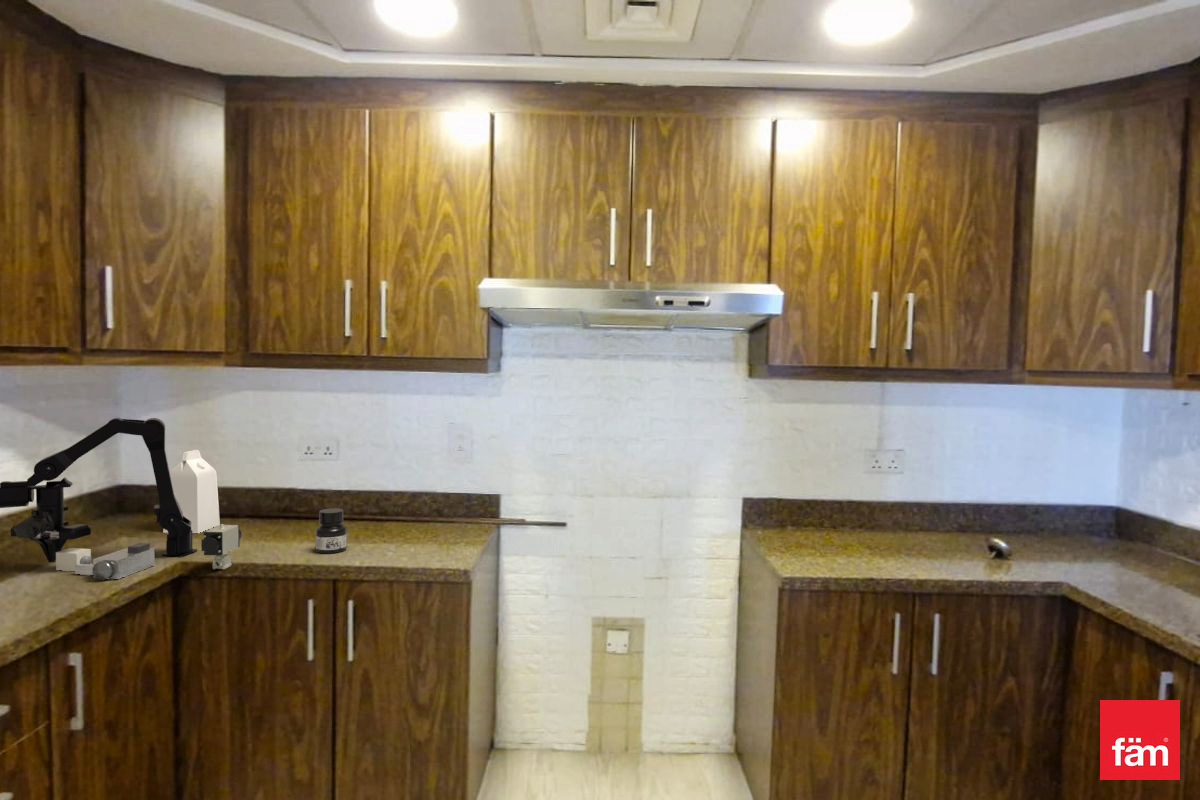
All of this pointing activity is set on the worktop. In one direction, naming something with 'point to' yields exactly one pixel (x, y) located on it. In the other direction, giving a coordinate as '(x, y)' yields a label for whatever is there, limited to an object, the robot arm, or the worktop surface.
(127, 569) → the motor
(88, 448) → the robot arm
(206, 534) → the pneumatic valve
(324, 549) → the ink bottle
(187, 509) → the milk
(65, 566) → the white block
